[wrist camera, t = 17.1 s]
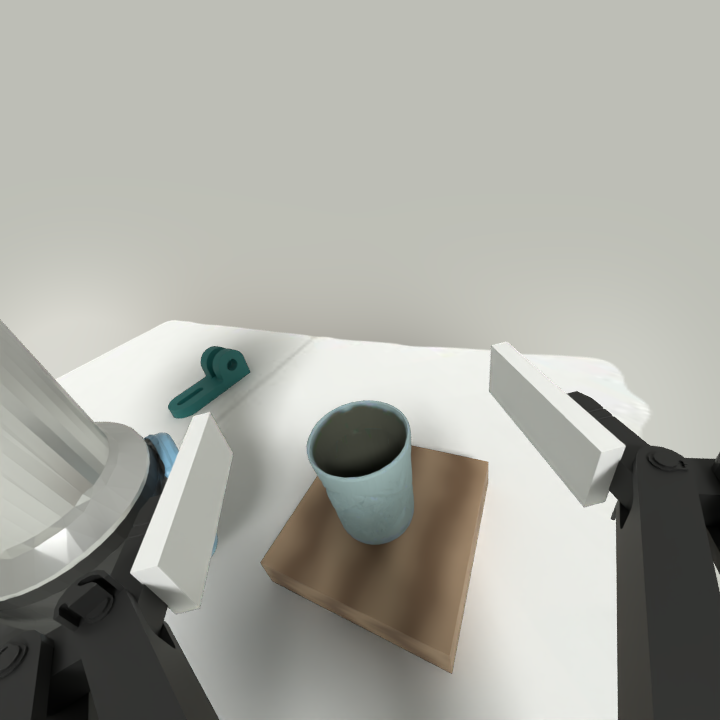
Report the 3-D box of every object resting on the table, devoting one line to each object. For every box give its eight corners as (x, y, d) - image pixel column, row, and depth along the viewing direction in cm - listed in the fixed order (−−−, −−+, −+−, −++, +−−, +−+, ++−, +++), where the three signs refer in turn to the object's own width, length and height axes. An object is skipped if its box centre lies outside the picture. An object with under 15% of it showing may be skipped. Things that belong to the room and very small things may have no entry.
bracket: (232, 368, 83) (220, 341, 79) (250, 372, 79) (238, 344, 75) (167, 414, 71) (148, 385, 67) (184, 422, 67) (165, 391, 63)
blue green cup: (388, 460, 44) (373, 388, 38) (442, 517, 36) (434, 437, 30) (320, 503, 40) (291, 431, 34) (362, 577, 32) (334, 500, 26)
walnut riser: (272, 581, 37) (260, 562, 35) (352, 450, 52) (346, 431, 50) (451, 673, 28) (449, 655, 26) (488, 483, 43) (488, 461, 41)
